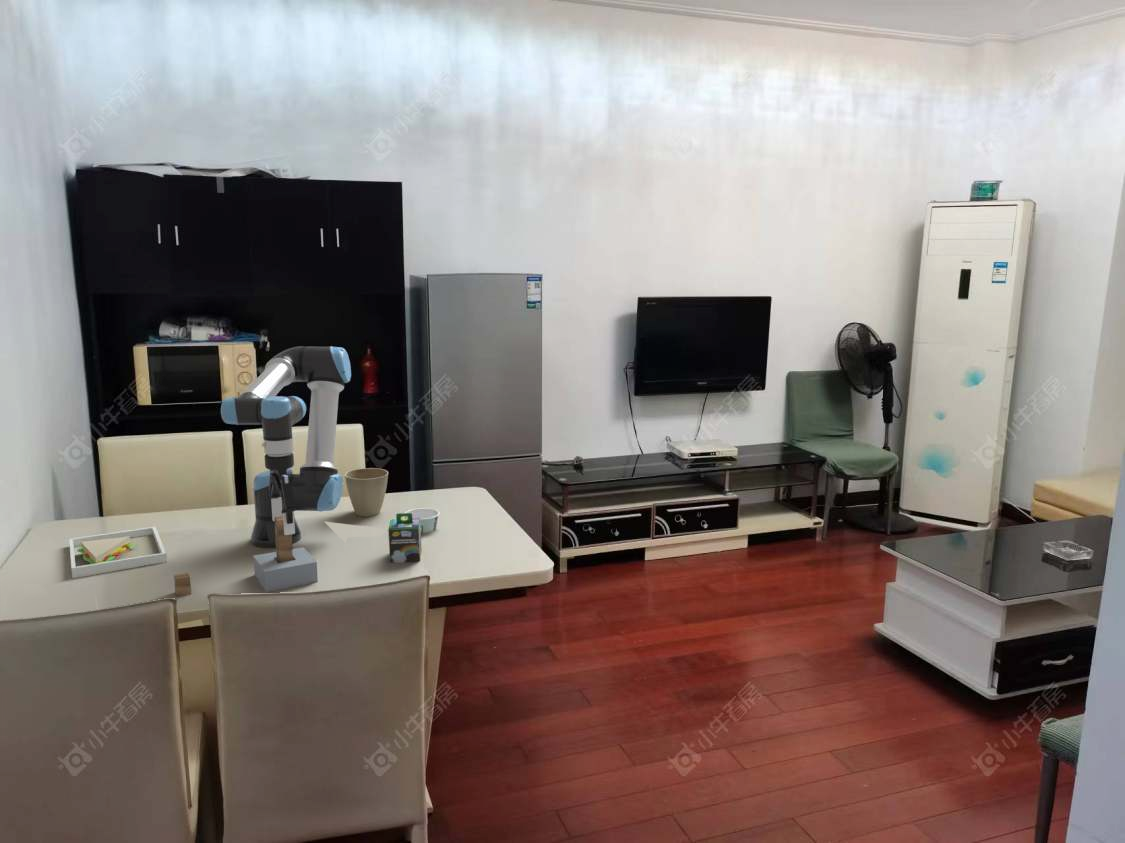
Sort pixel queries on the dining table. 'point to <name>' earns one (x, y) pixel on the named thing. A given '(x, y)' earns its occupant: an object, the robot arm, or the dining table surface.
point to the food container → (425, 518)
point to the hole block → (285, 570)
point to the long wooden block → (282, 542)
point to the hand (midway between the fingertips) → (283, 526)
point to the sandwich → (104, 549)
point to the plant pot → (366, 490)
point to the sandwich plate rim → (117, 564)
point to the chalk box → (405, 539)
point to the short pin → (182, 584)
